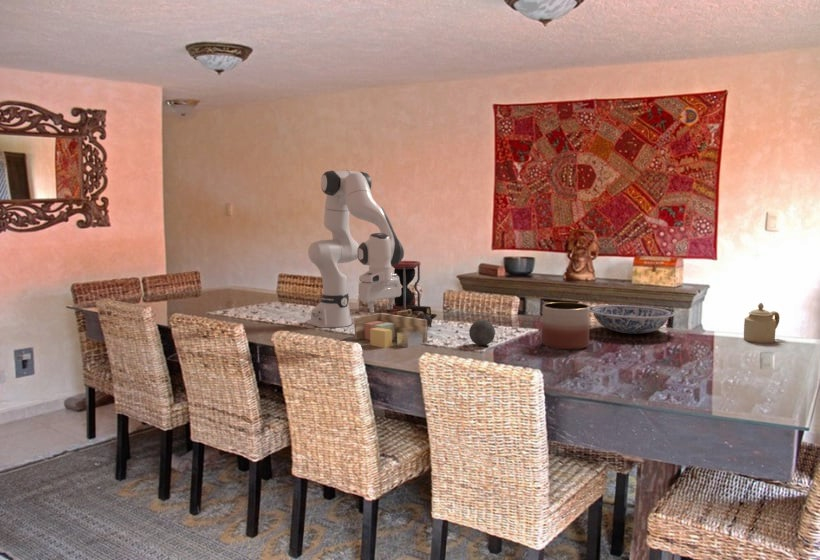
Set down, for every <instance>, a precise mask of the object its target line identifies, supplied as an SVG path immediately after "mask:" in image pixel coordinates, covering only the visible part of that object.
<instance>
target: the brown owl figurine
mask: <svg viewBox="0 0 820 560" xmlns="http://www.w3.org/2000/svg"><path fill="white" fill-rule="evenodd" d="M388 314H391V315H398V316H405V317H411V318H418V319H424V320H427V329H428V328H432V321H433V319H435V318H437V316H438V315H437V314H435V313H432V309H431V306H425V305H420V306H418V305H416V306H411V305H409V306H406V310H403V309H397V311H396V312H390V313H388Z"/></svg>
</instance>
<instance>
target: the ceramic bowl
mask: <svg viewBox="0 0 820 560" xmlns="http://www.w3.org/2000/svg"><path fill="white" fill-rule="evenodd" d="M590 312H591V313H592V314H593V316H594V318H595V320H596V321H597V322H598V323H599V324H600V325H601V326H602V327H604V328H606V329H608V330H611V331H613V332H618V333H622V334H624V333H625V334H629V335H630V334H631V335H634V334H646V333H647V334H648V333H652V332H655V331H657V330H659V329H660V328H661V329H662V327H663V326H664V325H665V324H666V323H667V322H668V320H669V318H672V317H674V316H675V315H676V314H675V312H674V311H671V310H668V309H664V308H659V307H653V306H645V305H644V306H643V305H630V304H629V305H628V304H625V305H624V304H603V305H602V304H601V305H594V306H591V307H590V306H589V313H590Z"/></svg>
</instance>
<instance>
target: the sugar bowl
mask: <svg viewBox="0 0 820 560" xmlns="http://www.w3.org/2000/svg"><path fill="white" fill-rule="evenodd" d="M757 308H758V309H753V310H751V311H750V312H748V314H749V315H748V316H747V317H745V318H744V320H743V321H744V322H743V323H744V324H743V340H744V341H747V342H750V343H751V342H752V343H757V344H758V343H759V344H772V343H775V341H776V340H775V339H776V329H777V328H778V326H779V323H780V313H778V312H777V311H775V310H774V311H769V310H765V309H764V304H763V303H762V302H760V303H759V304H758V305H757Z"/></svg>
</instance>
